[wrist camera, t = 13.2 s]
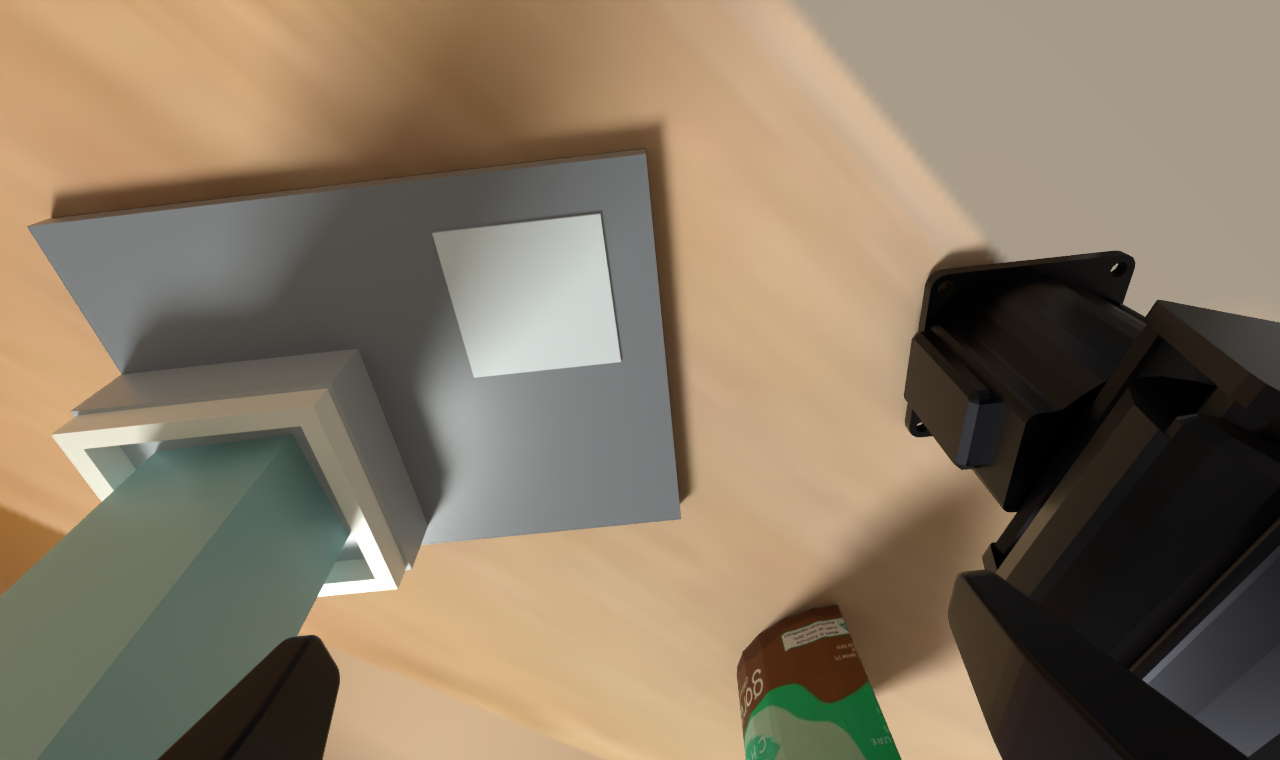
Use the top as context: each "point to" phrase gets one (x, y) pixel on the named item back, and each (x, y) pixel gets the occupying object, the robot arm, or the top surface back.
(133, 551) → the pillar
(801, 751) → the food container
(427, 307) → the grey board with socket
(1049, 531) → the robot arm
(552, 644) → the top surface
